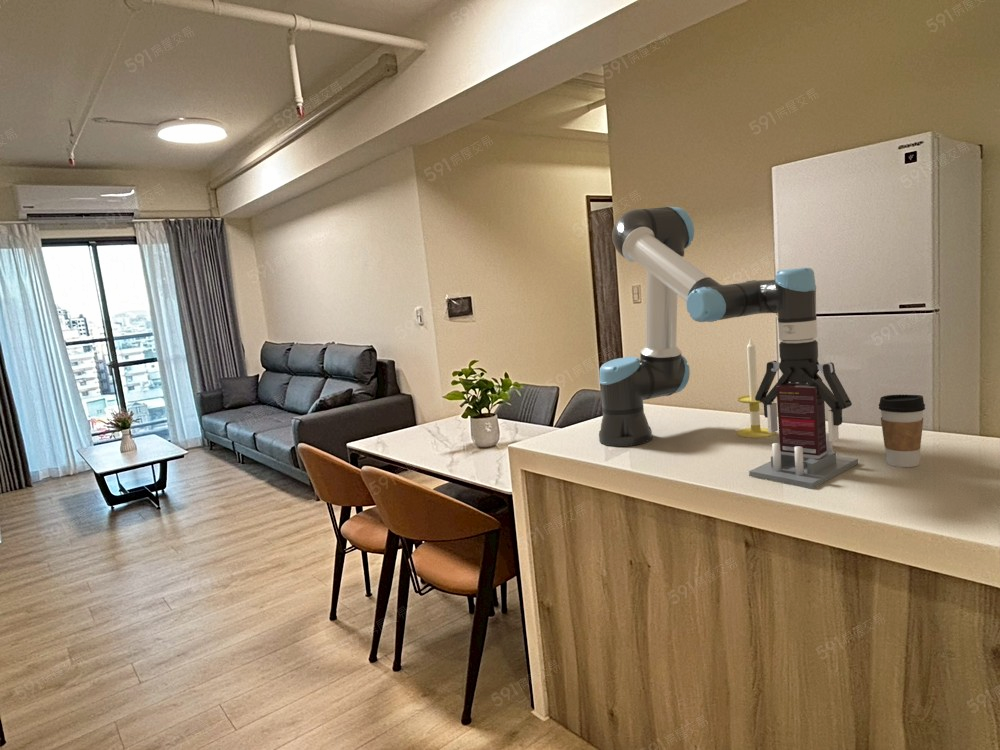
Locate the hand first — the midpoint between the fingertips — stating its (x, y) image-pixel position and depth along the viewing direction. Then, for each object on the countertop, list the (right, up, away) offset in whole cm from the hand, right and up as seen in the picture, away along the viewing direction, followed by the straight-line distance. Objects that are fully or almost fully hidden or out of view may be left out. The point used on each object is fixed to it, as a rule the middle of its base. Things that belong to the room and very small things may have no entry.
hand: (802, 435), depth 135 cm
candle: (+4, -3, +34) cm, 34 cm away
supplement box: (0, -4, +1) cm, 5 cm away
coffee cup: (+21, -6, -2) cm, 22 cm away
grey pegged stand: (+1, -8, +1) cm, 8 cm away
